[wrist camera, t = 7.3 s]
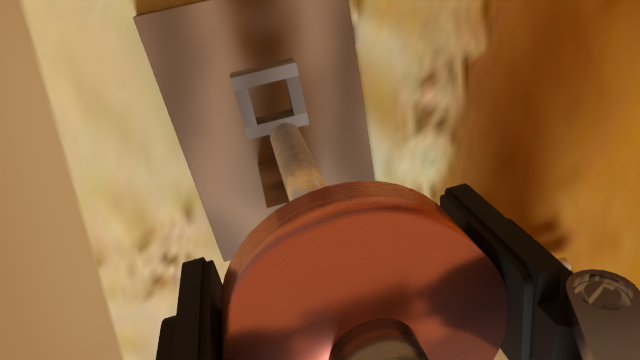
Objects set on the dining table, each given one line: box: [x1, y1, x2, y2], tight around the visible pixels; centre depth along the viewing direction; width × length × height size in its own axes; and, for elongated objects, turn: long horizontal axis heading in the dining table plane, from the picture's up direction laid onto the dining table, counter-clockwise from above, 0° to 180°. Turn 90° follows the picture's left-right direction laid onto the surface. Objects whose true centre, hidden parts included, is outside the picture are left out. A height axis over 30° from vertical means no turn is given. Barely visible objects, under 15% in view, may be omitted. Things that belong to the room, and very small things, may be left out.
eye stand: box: [133, 0, 375, 262], centre depth 31 cm, size 14×20×8 cm
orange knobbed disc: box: [221, 123, 507, 360], centre depth 15 cm, size 6×6×14 cm
